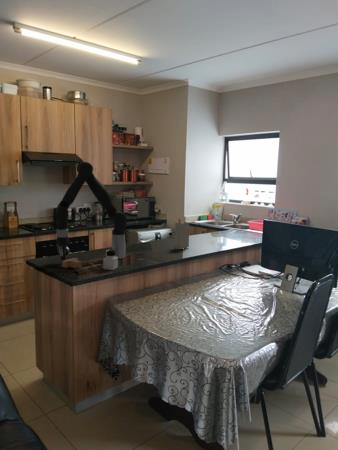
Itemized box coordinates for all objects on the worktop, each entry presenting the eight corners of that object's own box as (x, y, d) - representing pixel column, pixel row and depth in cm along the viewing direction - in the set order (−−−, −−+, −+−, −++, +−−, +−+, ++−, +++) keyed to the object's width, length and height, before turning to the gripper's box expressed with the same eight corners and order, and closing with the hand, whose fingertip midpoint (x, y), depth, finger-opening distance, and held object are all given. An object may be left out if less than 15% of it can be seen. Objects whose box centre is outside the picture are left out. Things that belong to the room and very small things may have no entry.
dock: (93, 266, 232) (93, 262, 232) (102, 268, 227) (102, 264, 227) (72, 271, 219) (72, 267, 218) (80, 274, 214) (80, 269, 213)
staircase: (188, 248, 296) (189, 218, 292) (179, 250, 287) (180, 219, 284) (181, 247, 301) (182, 217, 297) (172, 249, 293) (173, 218, 289)
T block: (74, 263, 238) (74, 257, 238) (85, 266, 232) (85, 260, 231) (62, 266, 230) (61, 260, 230) (72, 269, 224) (72, 263, 223)
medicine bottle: (117, 267, 232) (118, 249, 230) (113, 270, 225) (113, 251, 223) (107, 266, 233) (107, 248, 231) (103, 269, 226) (103, 250, 225)
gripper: (73, 236, 234) (73, 262, 236) (61, 233, 242) (61, 258, 244) (64, 237, 228) (64, 264, 230) (51, 235, 236) (52, 260, 238)
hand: (63, 261), depth 237 cm, fingers closed
